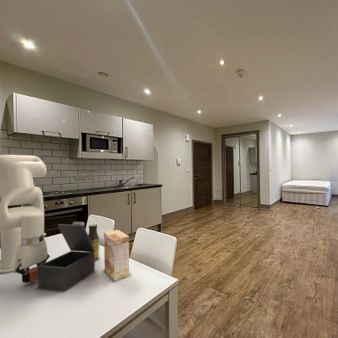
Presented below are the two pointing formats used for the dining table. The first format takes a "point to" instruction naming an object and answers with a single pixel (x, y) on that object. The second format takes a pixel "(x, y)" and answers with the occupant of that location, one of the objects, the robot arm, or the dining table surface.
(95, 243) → the sauce bottle
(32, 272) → the block
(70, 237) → the box lid with handle
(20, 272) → the robot arm
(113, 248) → the coffeecake box
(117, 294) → the dining table surface
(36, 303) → the dining table surface
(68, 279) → the dark grey hollow box
